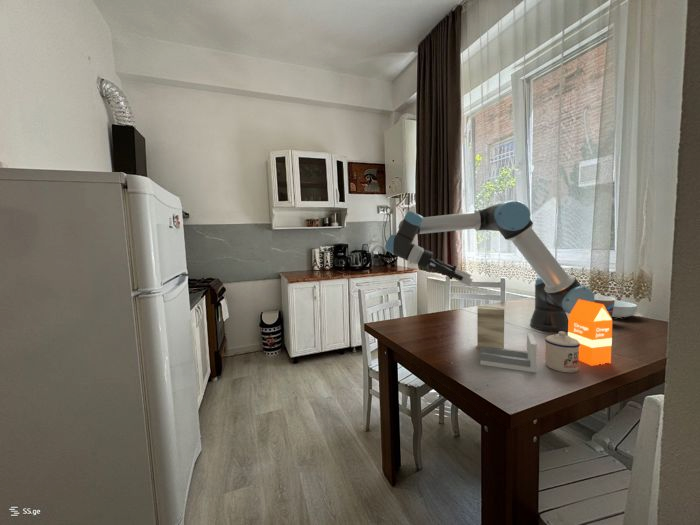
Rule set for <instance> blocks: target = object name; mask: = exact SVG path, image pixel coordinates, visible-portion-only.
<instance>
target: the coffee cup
mask: <svg viewBox="0 0 700 525" xmlns="http://www.w3.org/2000/svg"><path fill="white" fill-rule="evenodd" d="M615 301H617V300H616V298H615V297H613V296H612V297H611V296H605V295H594V303H599V304H603V305H604V306H605V308H606V310H607V312H608V313H609V315H610V317H611V318H612V313H613V308H614V303H615ZM612 319H613V318H612Z"/></svg>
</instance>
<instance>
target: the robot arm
mask: <svg viewBox="0 0 700 525" xmlns="http://www.w3.org/2000/svg"><path fill="white" fill-rule="evenodd" d="M533 225H534V222H533V221H532V220H531V211H530V209H529V208H528V206H527V205H526V204H525V203H523V202H521V201H518V200H506V201H502V202H501V203H497V204H493V205H491V206H488V207H484V208H477V209H474V211H472V212H463V213H452V214H443V215H435V216H434V215H433V216H425V217H424V216H422V215H421V214H418V213H417V212H414V211H411V210H407V212H406V213H405V215H404V217H403V219H402V220H401V221H400V222H399V224H398V228H397V229H398V231H397V232H396V234H391V235H389V237H388V239H387V240H386V243H385V246H384V247H385V248H384V249H385V250H386V251H387V252H388V253H390V254H393V255H394V256H396V257H399V258H401V259H402V260H405V261H406V262H408V263H409V265H410V264H414V265H417V266H418V267H420V268H422V269H424V270H426V269H427V268H428V267H429V268H431V269H433V270H435V271H437V272H439V273H440V274H443V275H444V276H446V277H448V278H449V280H452V279H454V280H456V281H458V282H460V283H463V284H464V285H467V286H470V285H471V284H472V282H473V278H471V276H472V274H470V273H468V272H466V271H463V270H461V269H459V268H457V265H451V264H448V263H446V262H444V261H442V260H440V259H438V258H433V255H434V253H433V251H430V250H428V249H425V248H424V247H422V246H419V245H417V244H415V243H413V242H414V239H415V237H416V235H423V234H434V233H443V232H453V231H462V230H463V231H464V230H465V231H466V230H472V229H473V230H475V231H491V232H492V231H494V232H499V233H500V234H501V235H502V236H503V238H504V239H505V241H511V242H512V243H513V245H514V246H515V247H516V248H517V250H518V251H519V252H520V253H521V256H522V257H524V259H525V260H526V261H527V263H528V264H529V265H530V267H531V268H532V269H533V271H534V272H535V273H536V274H537V276H538V277H537V278H536V279H535V281H534V283H535V284H534V311H533V313H532V316H531V318H530V322H529V325H530V326H531V327H532V328H534V329H537V330H541V331H546V332H554V333H559V332H560V331H563V332H564V331H565V332H568V319H569V317H568V316H567V314H570V313H571V311H572V310H573V308H574V306H575V305H576V303H577V301H578V300H579V299H580V300H585V301H590V302H594V296H595V294H594V293H593V291H592V290H591V289H590V288H589V287H587V286H584V285H582V284H581V283H580V282H579V281H578V279H577V278H576V277H575V276H574V275H572V274H568V273H567V272H566V271H565V269H563V267H562V266H561V264H560V263H559V262H558V260H556V258H555V257H554V255H553V254H552V253H551V251H550V250H549V249H548V247H547V246H546V245H545V244H544V242H543V241H542V240H541V238H540V237H539V236H538V234H537V233H536V231H534V229H533Z"/></svg>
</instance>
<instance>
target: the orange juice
mask: <svg viewBox="0 0 700 525" xmlns="http://www.w3.org/2000/svg"><path fill="white" fill-rule="evenodd" d="M567 335H568V336H570V337H571V338H574V339H576V340H578V341H579V343H580V346H579V362H582V363H585V364H587V365H589V366H591V367H593V366H599V364H601V365H605V363H609V364H612V362H611V361H612V344H613V318H611V317H610V315H609V313H608V312H607V310H606V308H605V306H604V305H603V304H599V303H594V302H590V301H585V300H580V299H579V300H578V301H577V303H576V305H575V306H574V308H573V310H572V311H571V313H569V314H568V331H567Z"/></svg>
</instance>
